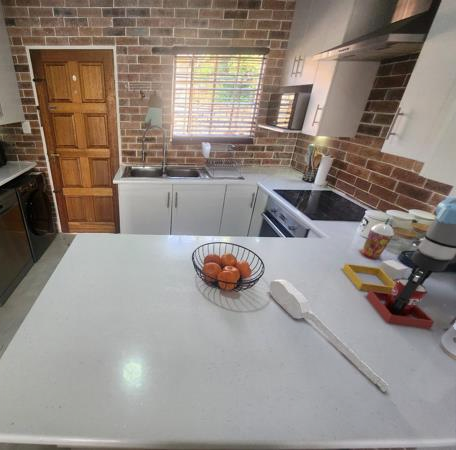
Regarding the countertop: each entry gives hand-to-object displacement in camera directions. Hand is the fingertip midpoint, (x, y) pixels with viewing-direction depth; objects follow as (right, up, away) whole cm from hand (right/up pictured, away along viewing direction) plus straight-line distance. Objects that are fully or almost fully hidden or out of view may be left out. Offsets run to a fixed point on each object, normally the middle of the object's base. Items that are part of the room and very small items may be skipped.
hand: (397, 309), depth 85 cm
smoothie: (+20, +14, +34) cm, 42 cm away
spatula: (-34, -5, -8) cm, 36 cm away
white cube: (+16, +7, +20) cm, 27 cm away
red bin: (0, -2, +1) cm, 2 cm away
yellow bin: (+3, +5, +15) cm, 17 cm away
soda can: (0, -1, +1) cm, 1 cm away
